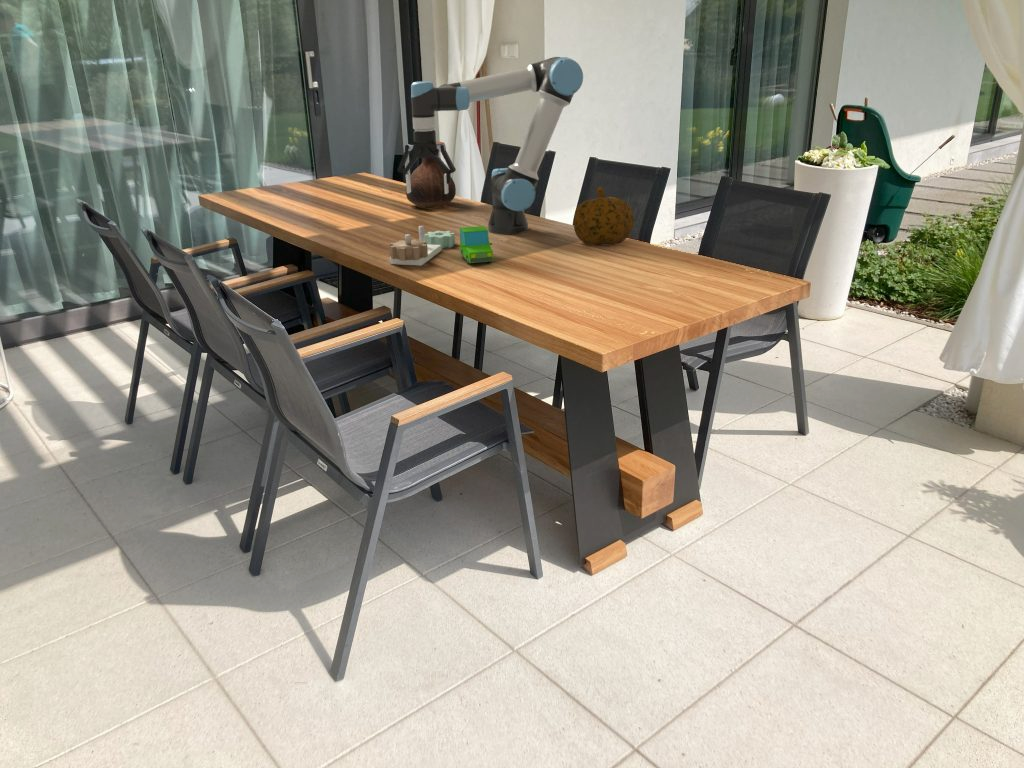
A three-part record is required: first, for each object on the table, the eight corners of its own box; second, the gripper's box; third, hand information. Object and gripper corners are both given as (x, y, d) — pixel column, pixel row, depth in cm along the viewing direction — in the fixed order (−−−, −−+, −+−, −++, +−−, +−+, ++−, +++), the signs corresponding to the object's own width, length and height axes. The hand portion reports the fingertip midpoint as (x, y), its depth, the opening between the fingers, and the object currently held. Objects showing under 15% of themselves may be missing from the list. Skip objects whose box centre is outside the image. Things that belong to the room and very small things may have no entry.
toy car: (466, 267, 268) (465, 236, 264) (457, 257, 280) (456, 227, 276) (497, 264, 271) (496, 234, 267) (487, 255, 283) (486, 225, 279)
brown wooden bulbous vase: (466, 204, 364) (464, 132, 352) (437, 212, 347) (433, 138, 336) (427, 199, 375) (423, 130, 363) (396, 207, 358) (391, 135, 346)
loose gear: (458, 242, 299) (457, 231, 298) (449, 249, 290) (448, 238, 288) (430, 241, 302) (430, 230, 300) (421, 247, 292) (420, 236, 291)
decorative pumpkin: (636, 247, 286) (633, 188, 279) (575, 252, 288) (571, 193, 281) (632, 236, 305) (630, 180, 298) (575, 240, 307) (571, 185, 300)
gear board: (443, 250, 288) (441, 224, 285) (420, 267, 268) (419, 240, 264) (409, 249, 291) (407, 223, 287) (384, 265, 271) (382, 238, 267)
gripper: (462, 128, 285) (464, 191, 293) (392, 128, 289) (396, 190, 297) (457, 131, 278) (460, 195, 286) (385, 131, 282) (390, 194, 290)
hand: (427, 193), depth 292 cm, fingers open, 13 cm apart
